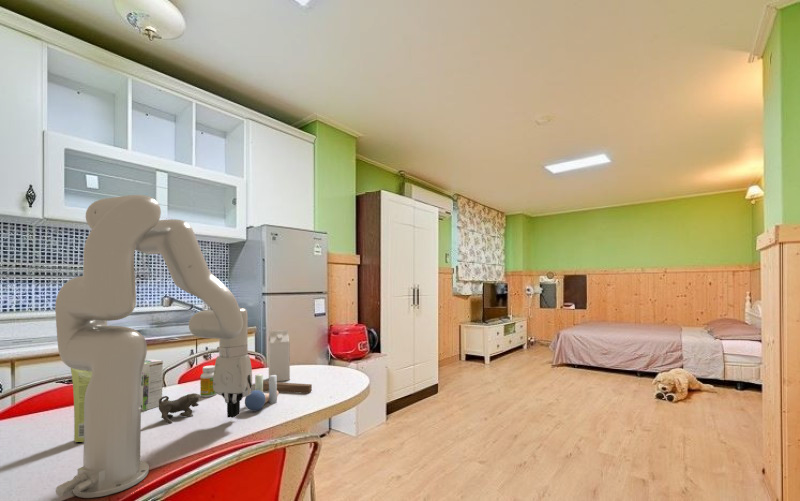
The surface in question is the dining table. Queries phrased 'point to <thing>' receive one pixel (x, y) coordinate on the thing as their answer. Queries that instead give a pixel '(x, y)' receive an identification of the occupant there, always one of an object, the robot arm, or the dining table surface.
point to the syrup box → (151, 384)
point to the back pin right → (272, 389)
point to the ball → (255, 400)
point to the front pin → (268, 397)
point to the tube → (79, 401)
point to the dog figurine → (178, 406)
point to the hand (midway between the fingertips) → (233, 415)
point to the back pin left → (259, 382)
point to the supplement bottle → (207, 382)
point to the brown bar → (290, 387)
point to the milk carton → (279, 355)
